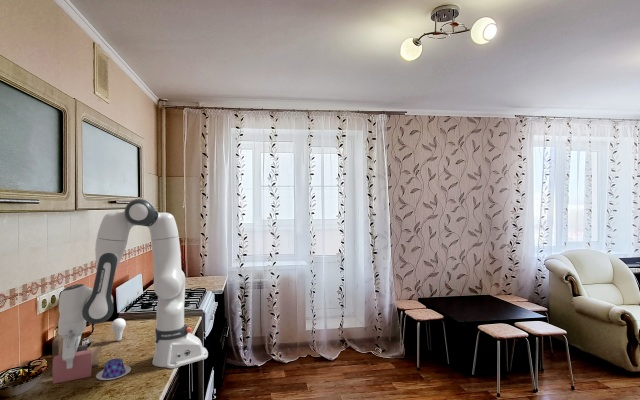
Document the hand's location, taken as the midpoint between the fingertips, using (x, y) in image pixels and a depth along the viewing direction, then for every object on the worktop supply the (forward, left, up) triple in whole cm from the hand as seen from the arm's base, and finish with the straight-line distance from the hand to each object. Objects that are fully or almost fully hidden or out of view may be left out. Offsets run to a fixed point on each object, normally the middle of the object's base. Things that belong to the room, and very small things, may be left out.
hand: (71, 362), depth 137 cm
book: (0, 0, -6) cm, 6 cm away
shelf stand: (0, -17, -6) cm, 18 cm away
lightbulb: (-15, -34, -6) cm, 38 cm away
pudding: (-14, +4, -6) cm, 16 cm away
